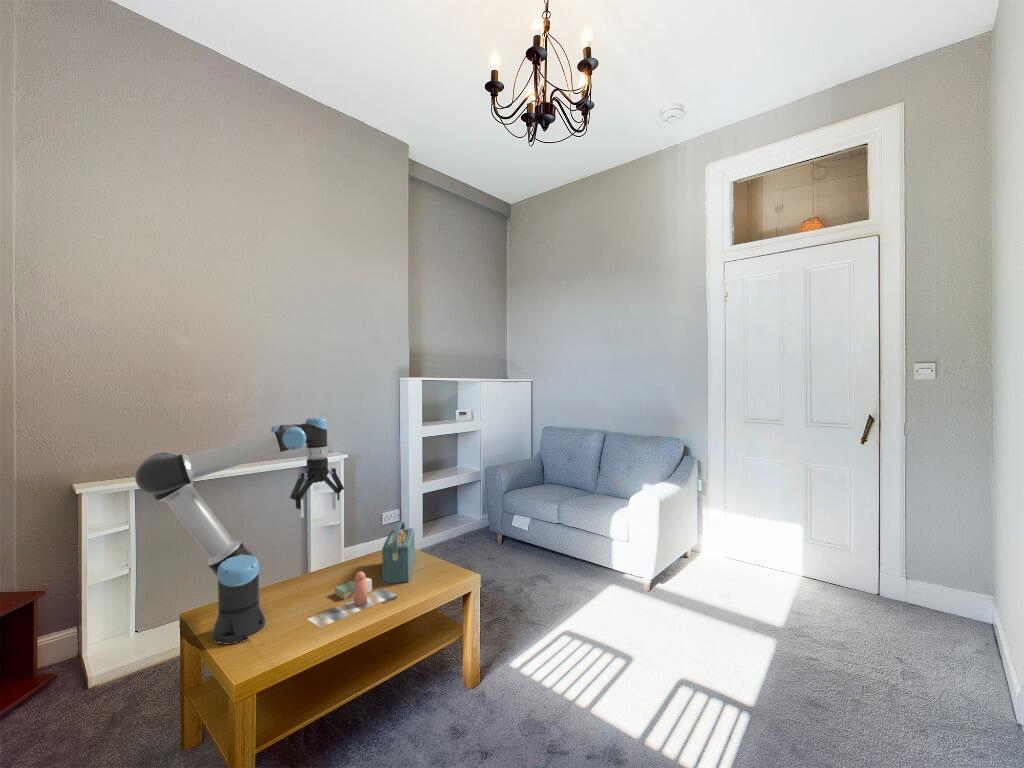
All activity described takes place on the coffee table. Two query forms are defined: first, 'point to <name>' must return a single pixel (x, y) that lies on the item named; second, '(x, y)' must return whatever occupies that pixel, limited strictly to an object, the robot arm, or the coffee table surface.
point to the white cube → (369, 585)
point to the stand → (345, 590)
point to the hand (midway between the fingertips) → (318, 513)
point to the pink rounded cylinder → (360, 589)
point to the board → (351, 608)
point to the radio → (398, 555)
